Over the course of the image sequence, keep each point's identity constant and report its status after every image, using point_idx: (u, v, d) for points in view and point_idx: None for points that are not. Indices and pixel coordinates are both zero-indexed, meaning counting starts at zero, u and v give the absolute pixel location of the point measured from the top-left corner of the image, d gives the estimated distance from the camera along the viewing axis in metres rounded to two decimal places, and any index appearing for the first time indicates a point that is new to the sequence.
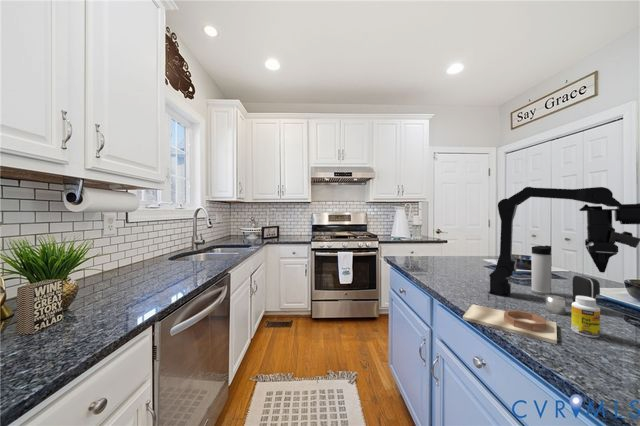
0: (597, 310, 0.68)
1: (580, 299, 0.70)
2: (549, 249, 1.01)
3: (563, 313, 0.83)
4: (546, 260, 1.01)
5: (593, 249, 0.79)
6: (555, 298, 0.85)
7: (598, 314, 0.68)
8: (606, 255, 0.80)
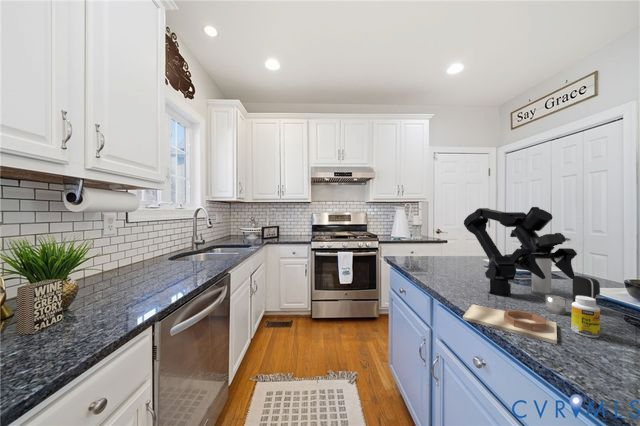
0: (597, 310, 0.68)
1: (580, 299, 0.70)
2: None
3: (563, 313, 0.83)
4: (546, 260, 1.01)
5: (511, 261, 0.85)
6: (555, 298, 0.85)
7: (598, 314, 0.68)
8: (529, 261, 0.82)
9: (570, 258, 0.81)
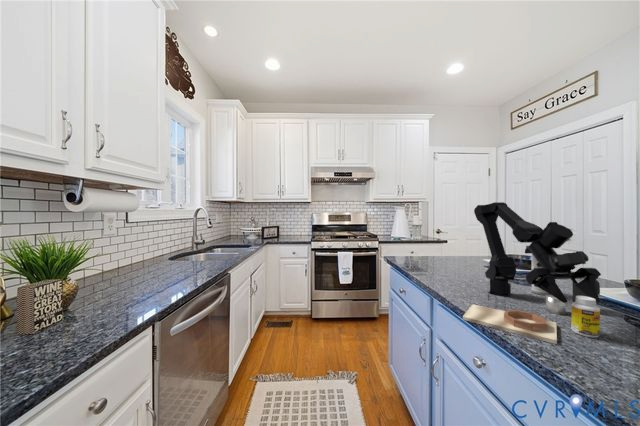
0: (597, 310, 0.68)
1: (580, 299, 0.70)
2: None
3: (563, 313, 0.83)
4: None
5: (528, 281, 0.78)
6: (555, 298, 0.84)
7: (598, 314, 0.68)
8: (548, 282, 0.75)
9: (593, 279, 0.74)
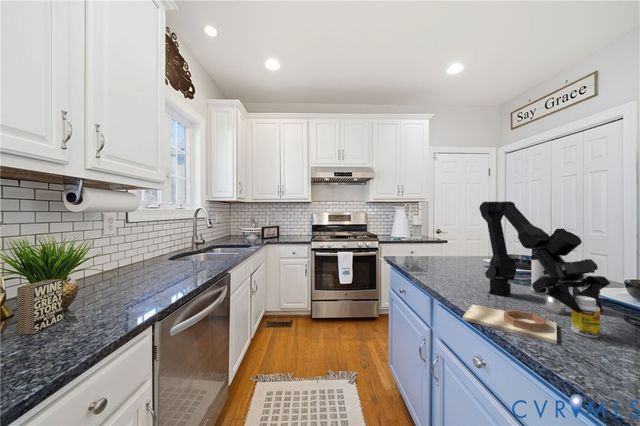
0: (597, 310, 0.68)
1: (580, 299, 0.70)
2: None
3: (563, 313, 0.83)
4: None
5: (535, 289, 0.76)
6: None
7: (598, 314, 0.68)
8: (561, 291, 0.72)
9: (597, 288, 0.72)
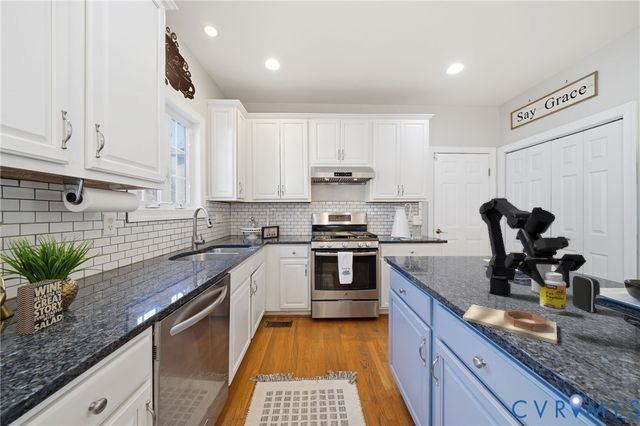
0: (561, 284, 0.69)
1: (546, 274, 0.72)
2: None
3: (563, 313, 0.83)
4: None
5: (506, 265, 0.80)
6: None
7: (562, 288, 0.69)
8: None
9: (568, 265, 0.72)
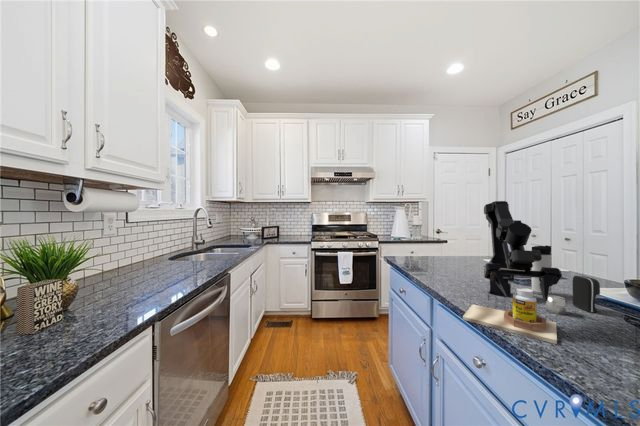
0: (529, 300, 0.72)
1: (517, 290, 0.75)
2: (549, 249, 1.01)
3: (563, 313, 0.83)
4: (546, 260, 1.01)
5: (484, 275, 0.84)
6: (555, 298, 0.85)
7: (530, 304, 0.72)
8: None
9: (549, 278, 0.73)
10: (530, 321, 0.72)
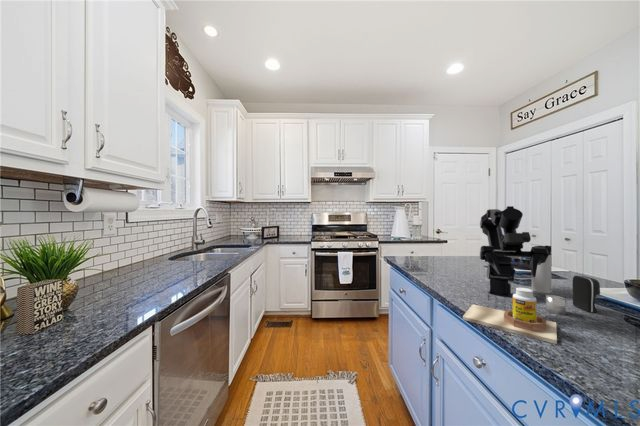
0: (529, 300, 0.72)
1: (517, 290, 0.75)
2: (549, 249, 1.01)
3: (562, 313, 0.83)
4: (546, 260, 1.01)
5: (480, 257, 0.93)
6: (555, 298, 0.85)
7: (530, 304, 0.72)
8: None
9: (538, 257, 0.82)
10: (530, 321, 0.72)
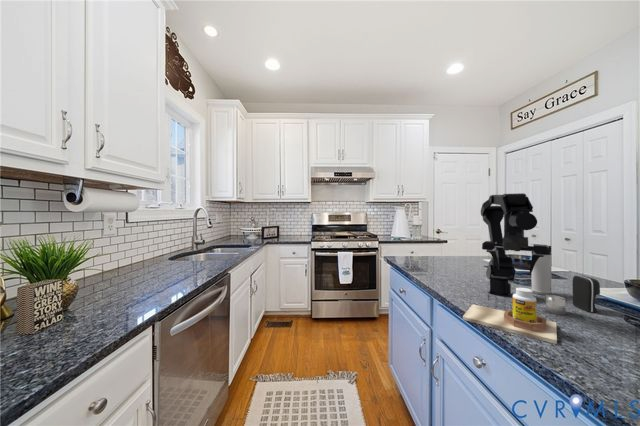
0: (529, 300, 0.72)
1: (517, 290, 0.75)
2: (549, 249, 1.01)
3: (562, 313, 0.83)
4: (546, 260, 1.01)
5: None
6: (555, 298, 0.85)
7: (530, 304, 0.72)
8: None
9: (536, 257, 0.84)
10: (530, 321, 0.72)
